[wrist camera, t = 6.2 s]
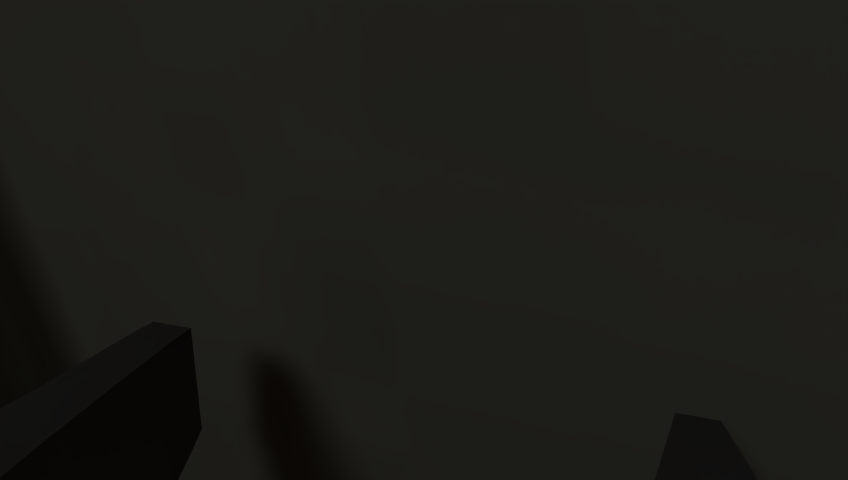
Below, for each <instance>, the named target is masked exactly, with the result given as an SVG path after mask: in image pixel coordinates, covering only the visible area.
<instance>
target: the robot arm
mask: <svg viewBox="0 0 848 480" xmlns="http://www.w3.org/2000/svg"><path fill="white" fill-rule="evenodd" d="M201 429H202V427H201V418H200V409H199V400H198V391H197V381H196V372H195V363H194V354H193V345H192V336H191V328H185V327H180V326H174V325H168V324H163V323H157V322H153V323H151V324H149V325H147V326H145V327H143V328H141V329H139V330H137V331H136V332H134V333H132V334H130V335H128V336H127V337H125V338H123V339H121V340H120V341H118V342H116V343H115V344H113V345H111V346H109V347H108V348H106V349H104V350H103V351H101V352H99V353H97V354H96V355H94V356H92V357H91V358H89V359H87V360H86V361H84V362H82V363H80V364H79V365H77V366H75V367H74V368H72V369H70V370H68V371H67V372H65V373H63V374H61V375H60V376H58V377H56V378H54V379H53V380H51V381H49V382H47V383H46V384H44V385H42V386H40V387H39V388H37V389H35V390H33V391H32V392H30V393H28V394H26V395H25V396H23V397H21V398H19V399H17V400H15V401H13V402H11V403H10V404H8V405H6V406H4V407H2V408H0V480H178V478H179V476H180V474H181V472H182V470H183V468H184V466H185V464H186V462H187V460H188V458H189V456H190V454H191V451H192V449H193V447H194V445H195V443H196V440H197V438H198V436H199V434H200V432H201ZM655 480H758V479H757V477H756V475H755V474H754V472H753V471H752V469H751V467H750V466H749V464H748V463H747V461H746V460H745V458H744V456H743V455H742V453H741V451H740V450H739V448H738V447H737V445H736V443H735V442H734V440H733V439H732V437H731V435H730V434H729V432H728V431H727V429H726V428H725V426H724V425H723V424H722V422H721V421H718V420H712V419H706V418H701V417H695V416H689V415H683V414H678V413H675V416H674V419H673V422H672V426H671V429H670V432H669V436H668V439H667V442H666V445H665V449H664V452H663V455H662V459H661V462H660V465H659V468H658V472H657V475H656V478H655Z"/></svg>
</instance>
